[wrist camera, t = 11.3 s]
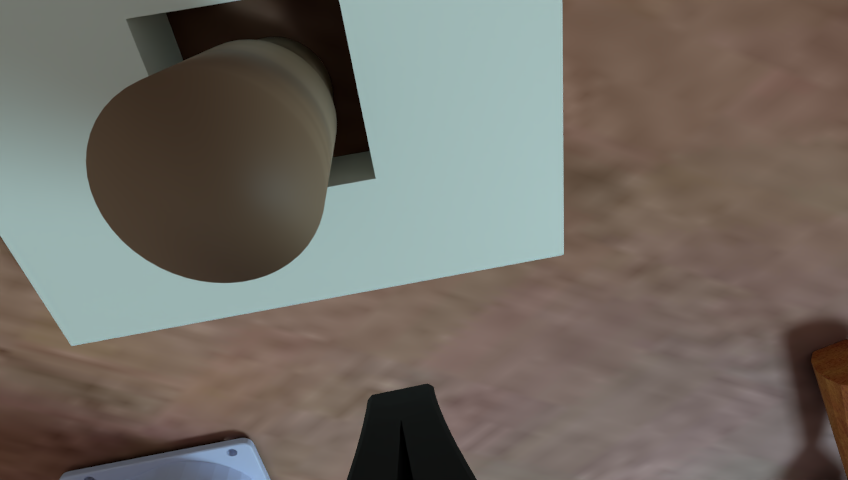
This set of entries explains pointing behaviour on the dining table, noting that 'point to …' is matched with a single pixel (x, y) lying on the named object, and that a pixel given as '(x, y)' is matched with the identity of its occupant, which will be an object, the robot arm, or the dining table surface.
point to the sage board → (349, 175)
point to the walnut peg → (218, 160)
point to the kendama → (835, 391)
